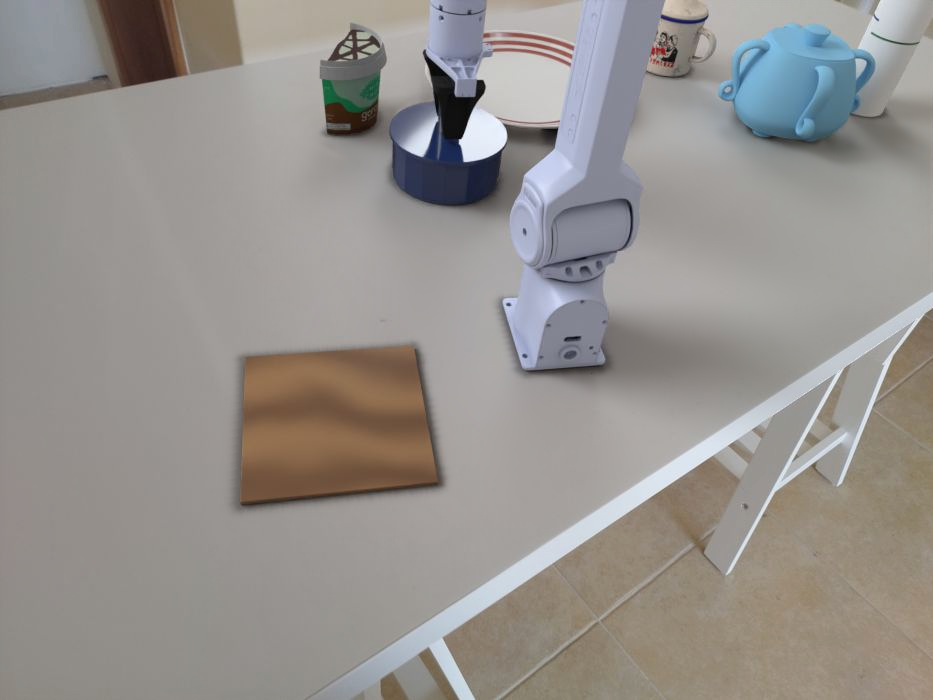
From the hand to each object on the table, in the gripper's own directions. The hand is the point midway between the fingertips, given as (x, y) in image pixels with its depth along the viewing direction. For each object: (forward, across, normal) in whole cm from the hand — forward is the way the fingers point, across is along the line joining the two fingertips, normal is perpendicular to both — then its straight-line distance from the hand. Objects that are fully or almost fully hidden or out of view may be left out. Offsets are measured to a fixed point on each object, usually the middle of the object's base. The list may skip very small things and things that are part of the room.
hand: (449, 126), depth 84 cm
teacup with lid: (+7, +28, -40) cm, 49 cm away
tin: (+6, 0, 0) cm, 6 cm away
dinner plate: (+7, +20, -14) cm, 25 cm away
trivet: (+6, -36, +15) cm, 40 cm away
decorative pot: (+7, +11, -50) cm, 52 cm away
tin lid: (+1, 0, 0) cm, 1 cm away
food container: (+7, +13, +9) cm, 17 cm away
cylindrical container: (+7, +16, -66) cm, 68 cm away
